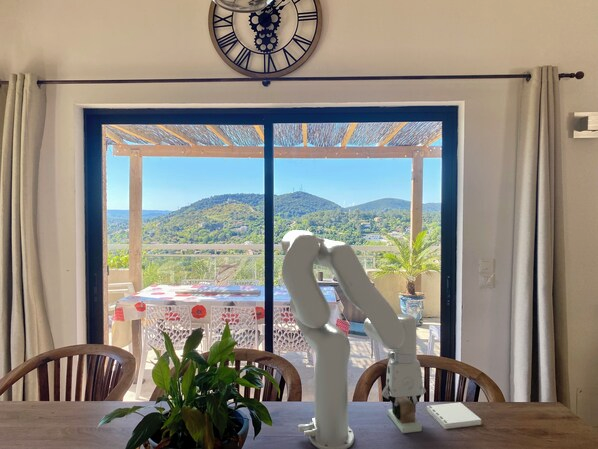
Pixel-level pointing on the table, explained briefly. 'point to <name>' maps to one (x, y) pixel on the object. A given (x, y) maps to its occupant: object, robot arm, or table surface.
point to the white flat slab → (453, 415)
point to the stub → (406, 416)
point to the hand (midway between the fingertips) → (404, 415)
